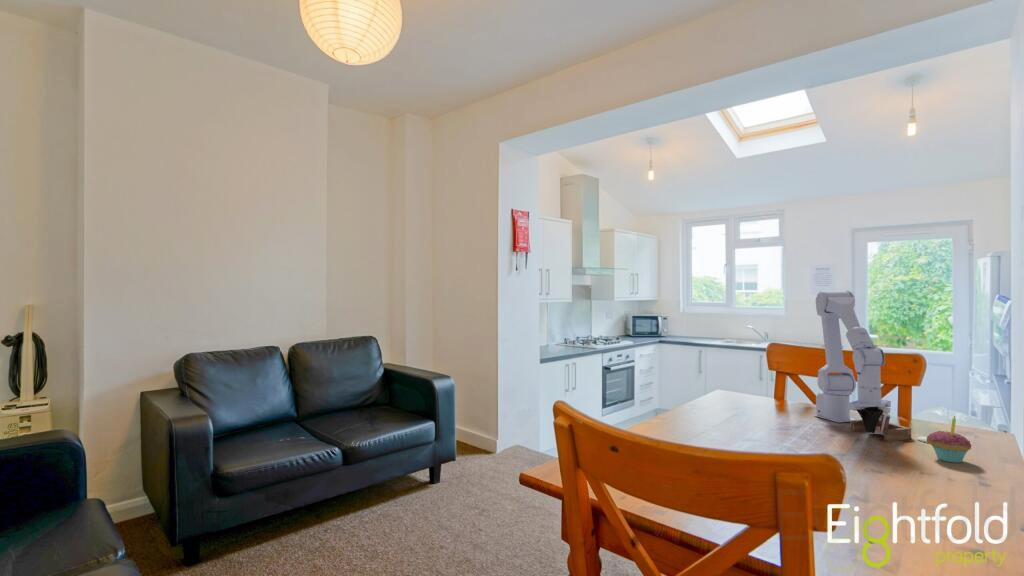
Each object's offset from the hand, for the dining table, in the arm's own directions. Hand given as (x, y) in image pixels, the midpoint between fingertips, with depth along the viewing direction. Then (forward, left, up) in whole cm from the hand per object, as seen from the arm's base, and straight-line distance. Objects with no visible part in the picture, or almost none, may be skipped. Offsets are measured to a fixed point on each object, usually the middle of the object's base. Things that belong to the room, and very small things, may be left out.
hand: (870, 432), depth 143 cm
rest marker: (+9, +12, -1) cm, 15 cm away
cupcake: (+21, 0, -1) cm, 21 cm away
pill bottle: (0, +2, -1) cm, 3 cm away
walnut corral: (0, +4, -1) cm, 4 cm away
